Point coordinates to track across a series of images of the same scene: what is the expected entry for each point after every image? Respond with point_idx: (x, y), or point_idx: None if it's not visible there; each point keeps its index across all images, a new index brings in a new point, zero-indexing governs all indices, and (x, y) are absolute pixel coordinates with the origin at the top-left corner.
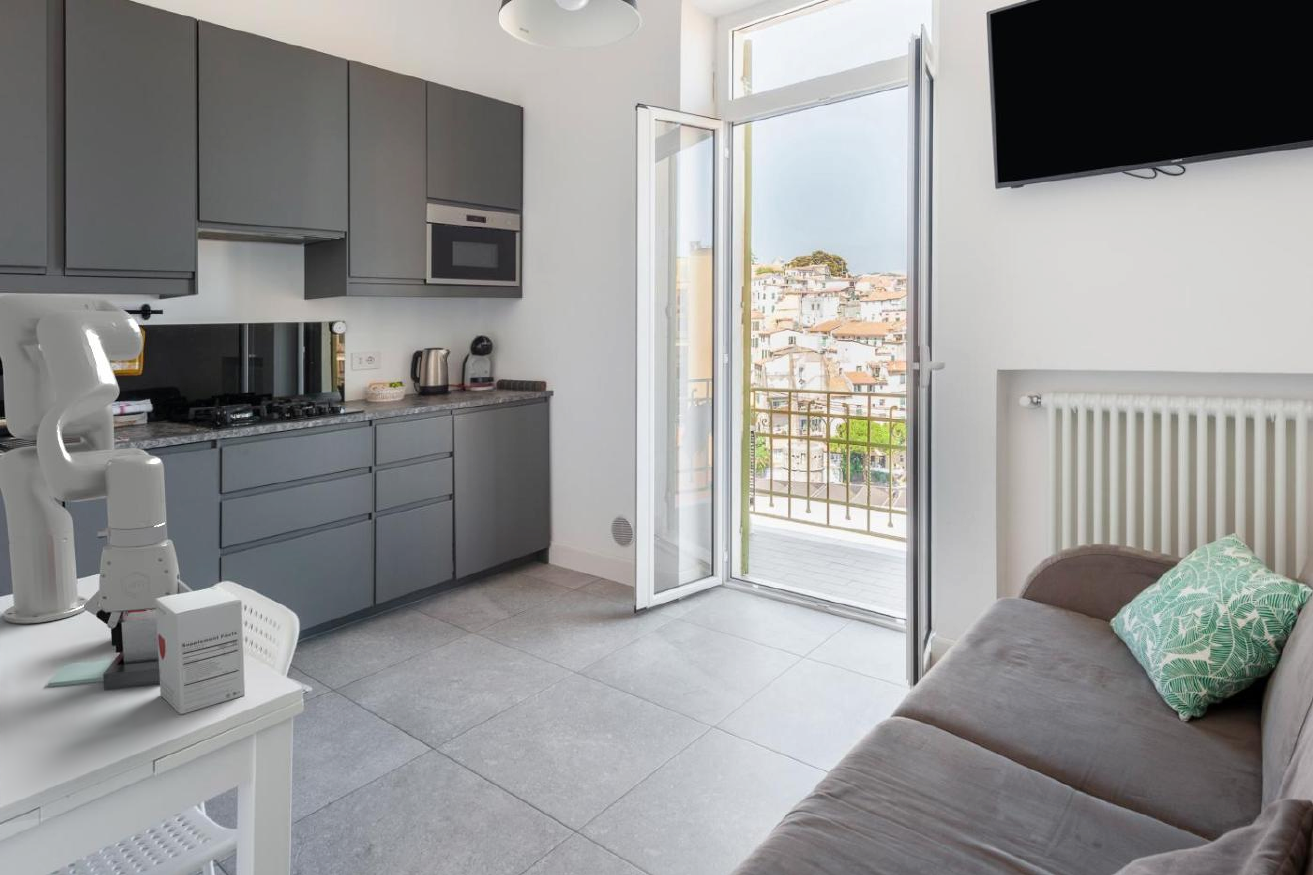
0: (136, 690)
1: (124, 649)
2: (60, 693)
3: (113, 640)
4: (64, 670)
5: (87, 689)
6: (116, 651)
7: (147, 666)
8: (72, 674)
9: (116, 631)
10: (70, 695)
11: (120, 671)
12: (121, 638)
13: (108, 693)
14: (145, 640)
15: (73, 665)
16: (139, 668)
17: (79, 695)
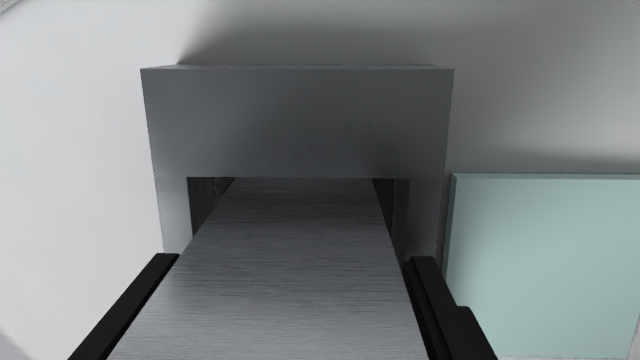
0: (286, 17)
1: (383, 238)
2: (609, 84)
3: (467, 325)
4: (626, 298)
5: (503, 97)
6: (430, 257)
7: (244, 118)
8: (590, 247)
9: (464, 349)
10: (565, 45)
11: (369, 81)
12: (418, 319)
13: (404, 18)
14: (252, 261)
15: (596, 340)
16: (278, 98)
17: (526, 33)
